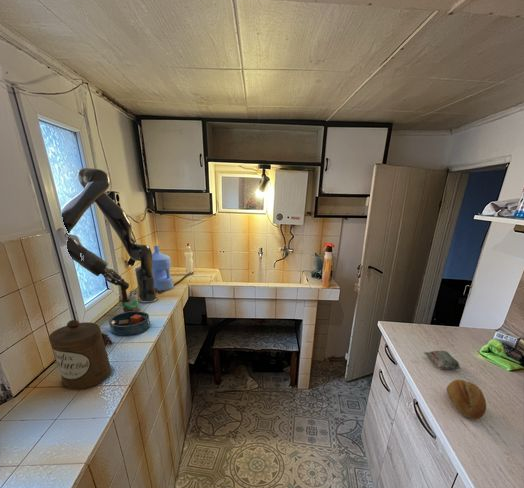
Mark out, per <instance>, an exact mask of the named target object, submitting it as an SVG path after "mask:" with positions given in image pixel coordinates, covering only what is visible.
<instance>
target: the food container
mask: <svg viewBox="0 0 524 488" xmlns="http://www.w3.org/2000/svg"><path fill="white" fill-rule="evenodd" d="M127 298H130V301H129V302H126V303H122V302H121V306H122V309H123V313H125V312H132V311H139V301H138V300H139V299H138V298H140V296H139V293H138V292H137V291H135V290H130V292H129V293H127ZM121 299H122V297H120V300H121Z"/></svg>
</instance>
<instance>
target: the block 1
mask: <svg viewBox="0 0 524 488" xmlns="http://www.w3.org/2000/svg"><path fill="white" fill-rule="evenodd" d="M129 325H130V324H129V320H119V323H118V326H129Z"/></svg>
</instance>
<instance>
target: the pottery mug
mask: <svg viewBox="0 0 524 488" xmlns="http://www.w3.org/2000/svg"><path fill="white" fill-rule="evenodd" d="M101 333H102V337H103V341H104V344H105V347H107V346H109V345H110V344H112V343H113V342H112V341H113V340H112V339H111V337H110V336H108V334H107V333H104V332H101Z"/></svg>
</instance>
